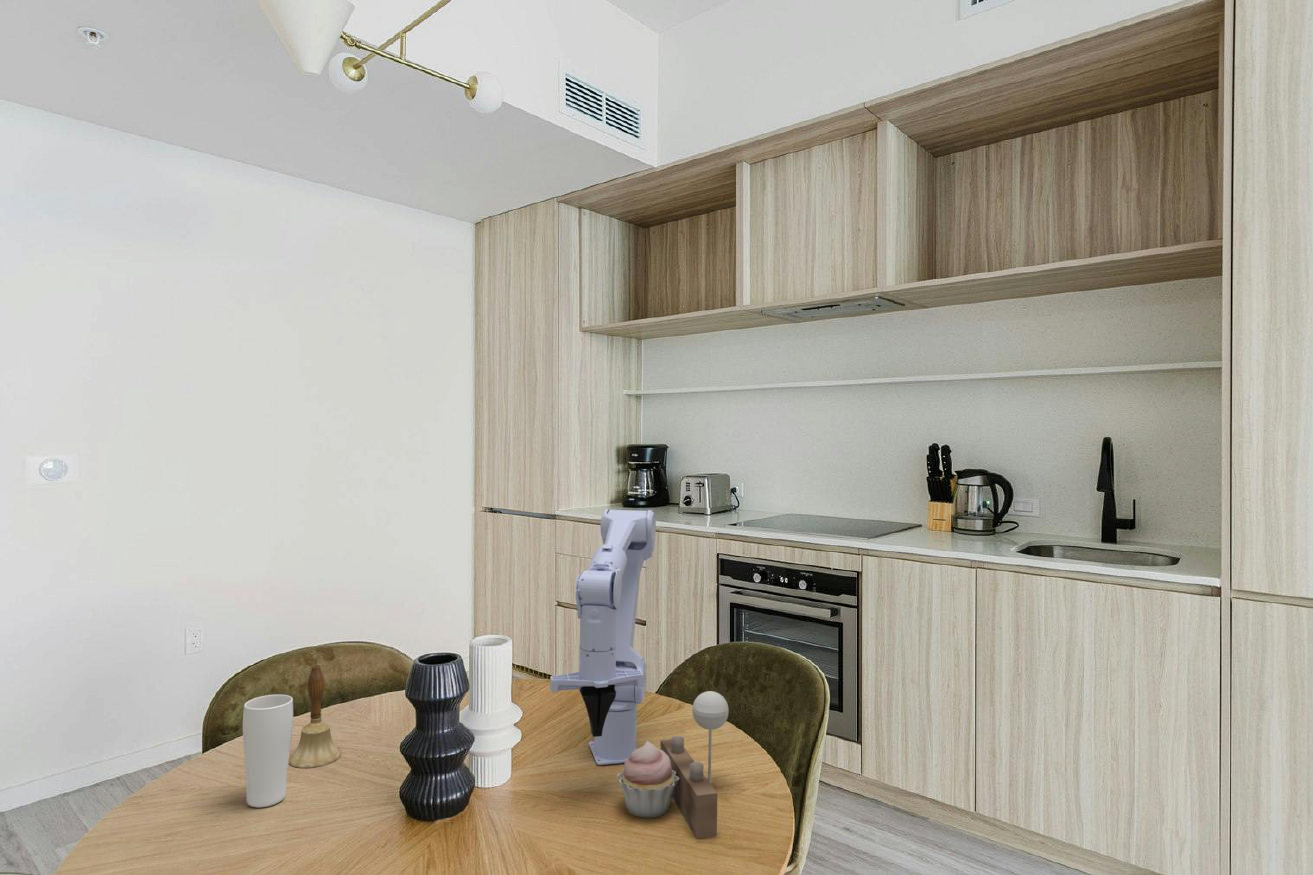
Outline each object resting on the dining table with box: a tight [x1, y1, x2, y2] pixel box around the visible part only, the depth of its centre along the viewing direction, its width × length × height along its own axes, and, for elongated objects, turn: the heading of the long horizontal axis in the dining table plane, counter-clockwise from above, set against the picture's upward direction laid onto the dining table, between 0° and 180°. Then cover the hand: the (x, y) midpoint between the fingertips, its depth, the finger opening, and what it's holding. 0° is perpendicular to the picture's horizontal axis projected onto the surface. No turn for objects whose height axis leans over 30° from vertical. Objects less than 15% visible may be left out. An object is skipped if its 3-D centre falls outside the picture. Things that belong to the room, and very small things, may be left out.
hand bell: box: [288, 664, 342, 769], centre depth 126 cm, size 8×8×16 cm
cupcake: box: [616, 740, 680, 819], centre depth 110 cm, size 9×9×10 cm
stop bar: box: [659, 735, 718, 840], centre depth 112 cm, size 20×3×8 cm, turn 14°
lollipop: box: [691, 690, 730, 785], centre depth 118 cm, size 6×6×15 cm
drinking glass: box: [242, 693, 294, 808], centre depth 111 cm, size 7×7×15 cm
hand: (596, 734), depth 114 cm, fingers closed
